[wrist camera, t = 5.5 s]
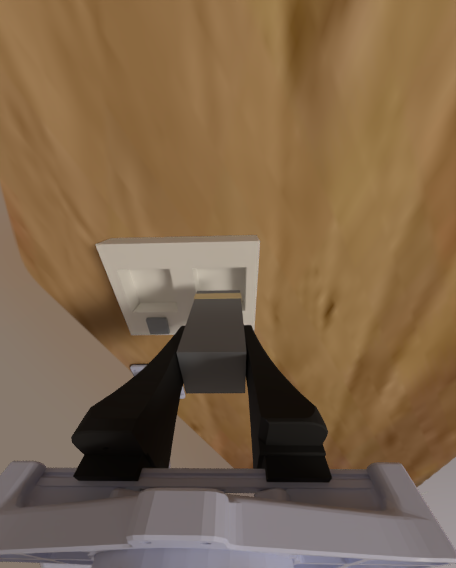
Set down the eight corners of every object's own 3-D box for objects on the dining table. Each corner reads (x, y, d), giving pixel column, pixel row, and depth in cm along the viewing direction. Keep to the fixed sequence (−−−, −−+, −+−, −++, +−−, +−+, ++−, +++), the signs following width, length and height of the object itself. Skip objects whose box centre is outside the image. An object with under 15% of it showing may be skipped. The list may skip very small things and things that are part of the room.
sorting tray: (251, 320, 24) (254, 336, 22) (140, 322, 25) (129, 337, 22) (256, 235, 19) (260, 242, 16) (110, 238, 19) (92, 245, 16)
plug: (240, 323, 18) (245, 393, 12) (200, 324, 18) (185, 393, 12) (240, 289, 16) (247, 351, 10) (196, 290, 16) (175, 351, 10)
